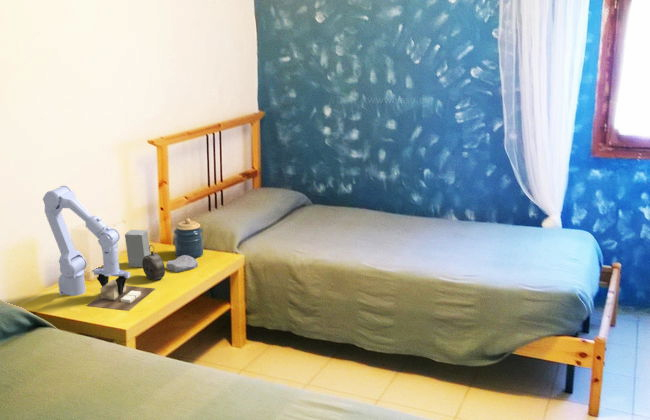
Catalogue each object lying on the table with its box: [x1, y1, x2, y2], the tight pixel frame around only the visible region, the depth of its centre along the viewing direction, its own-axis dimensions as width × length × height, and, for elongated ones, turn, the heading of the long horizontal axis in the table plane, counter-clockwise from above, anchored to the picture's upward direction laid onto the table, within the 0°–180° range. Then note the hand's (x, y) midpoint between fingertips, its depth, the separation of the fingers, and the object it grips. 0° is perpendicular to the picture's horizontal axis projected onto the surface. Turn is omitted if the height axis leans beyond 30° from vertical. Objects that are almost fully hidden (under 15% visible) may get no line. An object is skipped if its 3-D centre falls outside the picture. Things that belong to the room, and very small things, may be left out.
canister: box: [173, 217, 204, 259], centre depth 320 cm, size 13×13×18 cm
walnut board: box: [85, 285, 156, 312], centre depth 272 cm, size 18×22×2 cm
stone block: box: [165, 255, 199, 273], centre depth 306 cm, size 12×5×10 cm
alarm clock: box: [142, 244, 166, 281], centre depth 288 cm, size 11×5×16 cm, turn 47°
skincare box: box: [124, 229, 151, 268], centre depth 307 cm, size 8×7×16 cm
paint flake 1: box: [121, 295, 135, 303], centre depth 268 cm, size 4×4×1 cm
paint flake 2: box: [127, 291, 141, 298], centre depth 272 cm, size 4×4×1 cm
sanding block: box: [100, 279, 127, 300], centre depth 271 cm, size 6×9×4 cm, turn 167°
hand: (113, 293), depth 272 cm, fingers closed on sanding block, 6 cm apart
